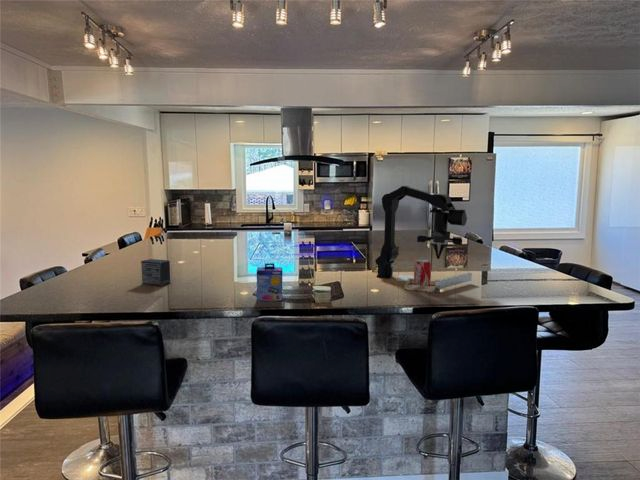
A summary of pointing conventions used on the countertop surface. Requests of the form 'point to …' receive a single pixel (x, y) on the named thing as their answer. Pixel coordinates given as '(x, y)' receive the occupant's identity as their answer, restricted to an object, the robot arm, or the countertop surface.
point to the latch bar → (453, 280)
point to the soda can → (422, 272)
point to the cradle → (420, 288)
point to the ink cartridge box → (269, 283)
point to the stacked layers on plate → (321, 294)
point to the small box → (155, 272)
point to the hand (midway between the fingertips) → (438, 258)
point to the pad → (404, 277)
